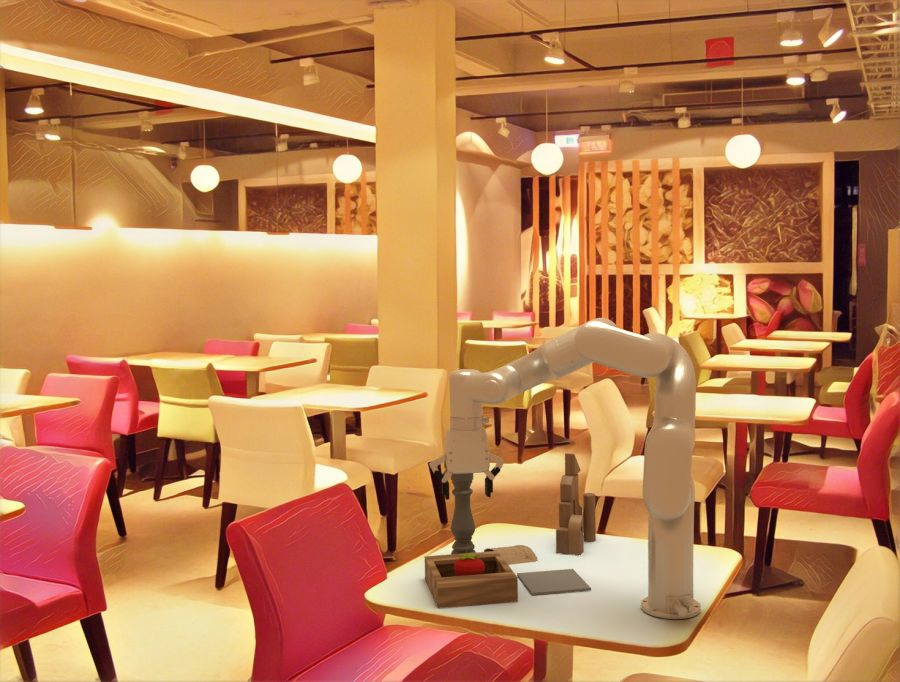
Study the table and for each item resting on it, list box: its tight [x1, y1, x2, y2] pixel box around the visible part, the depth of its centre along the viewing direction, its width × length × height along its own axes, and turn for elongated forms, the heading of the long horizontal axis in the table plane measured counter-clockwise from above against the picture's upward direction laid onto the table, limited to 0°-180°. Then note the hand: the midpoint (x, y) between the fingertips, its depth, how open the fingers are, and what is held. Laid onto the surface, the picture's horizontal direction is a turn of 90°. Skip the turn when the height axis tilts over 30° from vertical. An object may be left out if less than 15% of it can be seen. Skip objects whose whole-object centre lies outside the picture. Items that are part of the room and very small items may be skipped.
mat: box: [516, 568, 592, 596], centre depth 226 cm, size 14×14×1 cm
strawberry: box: [454, 548, 485, 576], centre depth 222 cm, size 6×8×10 cm
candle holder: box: [450, 473, 477, 554], centre depth 239 cm, size 6×6×25 cm
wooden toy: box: [555, 452, 597, 556], centre depth 253 cm, size 16×7×25 cm, turn 156°
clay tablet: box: [483, 544, 538, 566], centre depth 246 cm, size 14×10×3 cm
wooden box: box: [424, 550, 519, 608], centre depth 222 cm, size 20×18×6 cm
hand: (467, 497), depth 221 cm, fingers open, 9 cm apart
